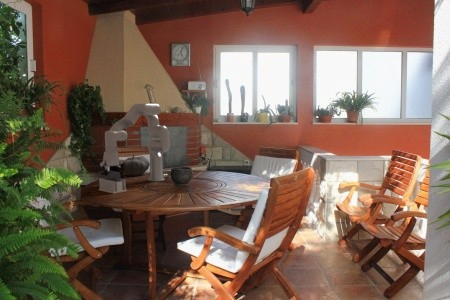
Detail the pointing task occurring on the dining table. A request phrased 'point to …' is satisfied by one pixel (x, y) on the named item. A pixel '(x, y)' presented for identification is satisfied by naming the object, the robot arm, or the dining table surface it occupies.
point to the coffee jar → (113, 168)
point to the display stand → (112, 186)
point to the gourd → (135, 165)
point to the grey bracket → (111, 176)
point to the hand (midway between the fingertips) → (112, 174)
